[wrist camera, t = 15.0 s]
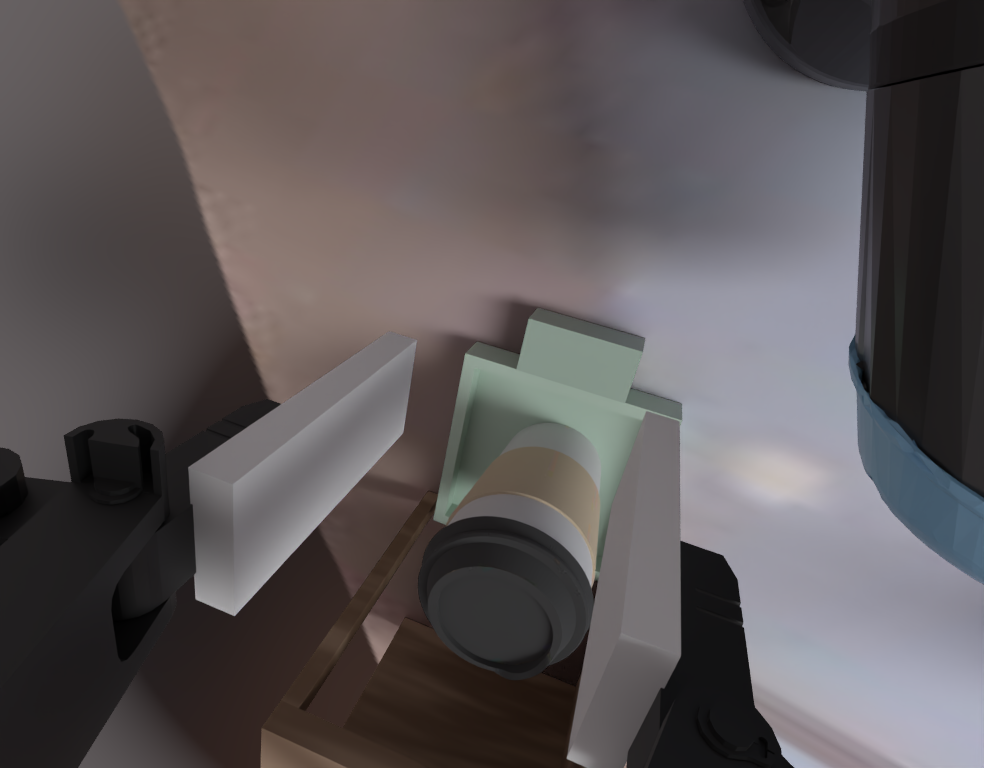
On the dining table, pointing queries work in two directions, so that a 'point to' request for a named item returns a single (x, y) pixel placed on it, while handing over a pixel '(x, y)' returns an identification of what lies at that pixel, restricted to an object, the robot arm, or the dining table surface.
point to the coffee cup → (519, 556)
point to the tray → (549, 403)
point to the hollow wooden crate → (419, 699)
